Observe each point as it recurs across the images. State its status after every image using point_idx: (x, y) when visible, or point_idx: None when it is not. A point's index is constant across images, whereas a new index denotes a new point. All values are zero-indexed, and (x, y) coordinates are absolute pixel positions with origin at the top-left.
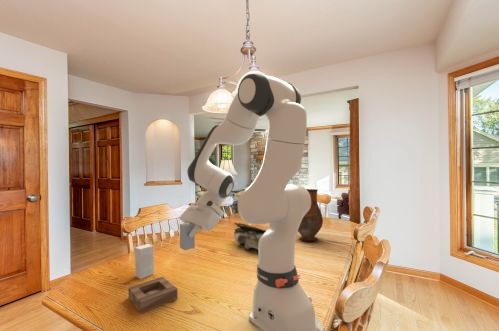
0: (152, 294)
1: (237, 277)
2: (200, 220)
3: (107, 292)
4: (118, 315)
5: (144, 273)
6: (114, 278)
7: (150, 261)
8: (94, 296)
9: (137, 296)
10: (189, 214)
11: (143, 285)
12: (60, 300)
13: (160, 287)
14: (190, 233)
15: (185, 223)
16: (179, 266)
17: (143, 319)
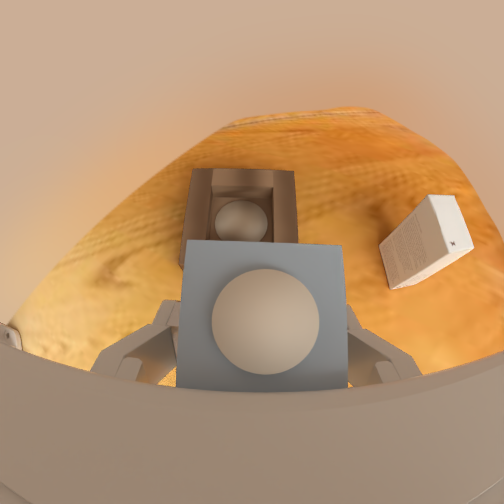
0: (205, 198)
1: None
2: (18, 403)
3: (349, 167)
4: (228, 155)
5: (387, 253)
6: (414, 202)
7: (410, 262)
8: (345, 148)
9: (225, 170)
10: (481, 452)
11: (278, 200)
12: (361, 116)
13: None
14: (158, 312)
15: (274, 296)
16: None
17: (172, 182)
